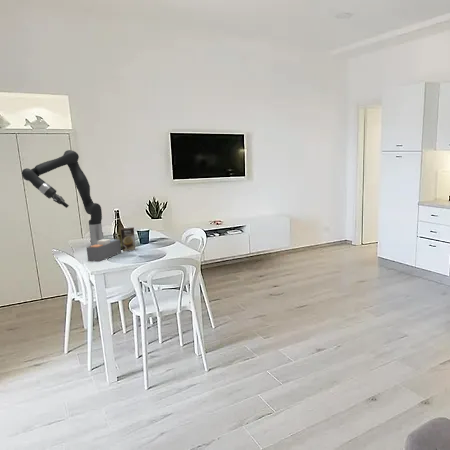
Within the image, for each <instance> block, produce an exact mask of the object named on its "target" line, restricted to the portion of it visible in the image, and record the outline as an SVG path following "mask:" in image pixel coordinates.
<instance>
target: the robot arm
mask: <svg viewBox="0 0 450 450" xmlns="http://www.w3.org/2000/svg"><path fill="white" fill-rule="evenodd" d="M79 158H80V156H79V154H78V153H77V152H76V151H75V150H71V149H67V150H65V151H64V153H63V155H61V156H59V157H58V158H57V157H56V158H54V159H51V160H47V161H44V162H42V163H39V164H37V165H35V166H34V167H33V168H31V169H30V168H24V169H22V170H21V176H22V178H23V180H25V181H28V182H29V183H31V184H32V186H34V188H36V190H38V192H40V193H41V194H42V195H44V196H45V197H46V198H48V200H50V199H52V200H53V202H55V203H56V204H59V205H62V206H63V207H64V208H66V209H67V208H69V206H70V205H69V204H68V203H67V202H66V201H65V199H64V198H63V197H62V196H61V195H59V194H58V193H57V189H55V188H54V187H53V186H52V185H50V184H49V183H48V182H46V181H45V180H44V179H42V178H40V176H41V175H44V174H46V173H49V172H51V171H53V170H56V169H59V168H60V167H63V166H67V167H68V168H69V171H70V174H71V177H72V179H73V183H74V185H75V187H76V189H77V191H78V194H79V195H80V198H81V200H82V204H83V207H84V211H85V212H86V213H87V214H88V215H89V216H90V219H89V220H88V231H89V237H90V238H89V239H90V246H92V245H95V244H97V241H99V240H102V239H105V238H104V232H103V225H102V219H103V215H102V207H101V205H100V204H99V203H97V202H94V201H93V199H92V196H91V186H90V182H89V181H88V178H87V176H86V175H85V173H84V171H83V170H82V168H81V167H80V164H79V162H78V161H79Z"/></svg>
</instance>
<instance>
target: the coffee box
mask: <svg viewBox="0 0 450 450" xmlns="http://www.w3.org/2000/svg"><path fill="white" fill-rule="evenodd" d="M120 234H121V249H122V252H131V251H132V252H133V251H136V249H137V247H136V239H135V236H136V235H135V227H121V228H120Z"/></svg>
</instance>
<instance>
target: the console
mask: <svg viewBox="0 0 450 450" xmlns="http://www.w3.org/2000/svg"><path fill="white" fill-rule="evenodd" d="M116 240H117V241H114V242H110V243H109V244H106V245H103V246H101V247H98V248H94V247H90V246H88V247H87V246H86V256H87V261H88V262H103V261H104V260H106V259H108V258H111V257H113V256H116V255H118V254H120V253H122V243H121V239H116ZM95 245H98V244H95ZM92 246H93V245H92Z"/></svg>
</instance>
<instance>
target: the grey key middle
mask: <svg viewBox="0 0 450 450" xmlns="http://www.w3.org/2000/svg"><path fill="white" fill-rule="evenodd" d="M109 243H110V239H108V238H107V239H106V238H104V239H102V240H99V241H97V244H98V245H106V244H109Z"/></svg>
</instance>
